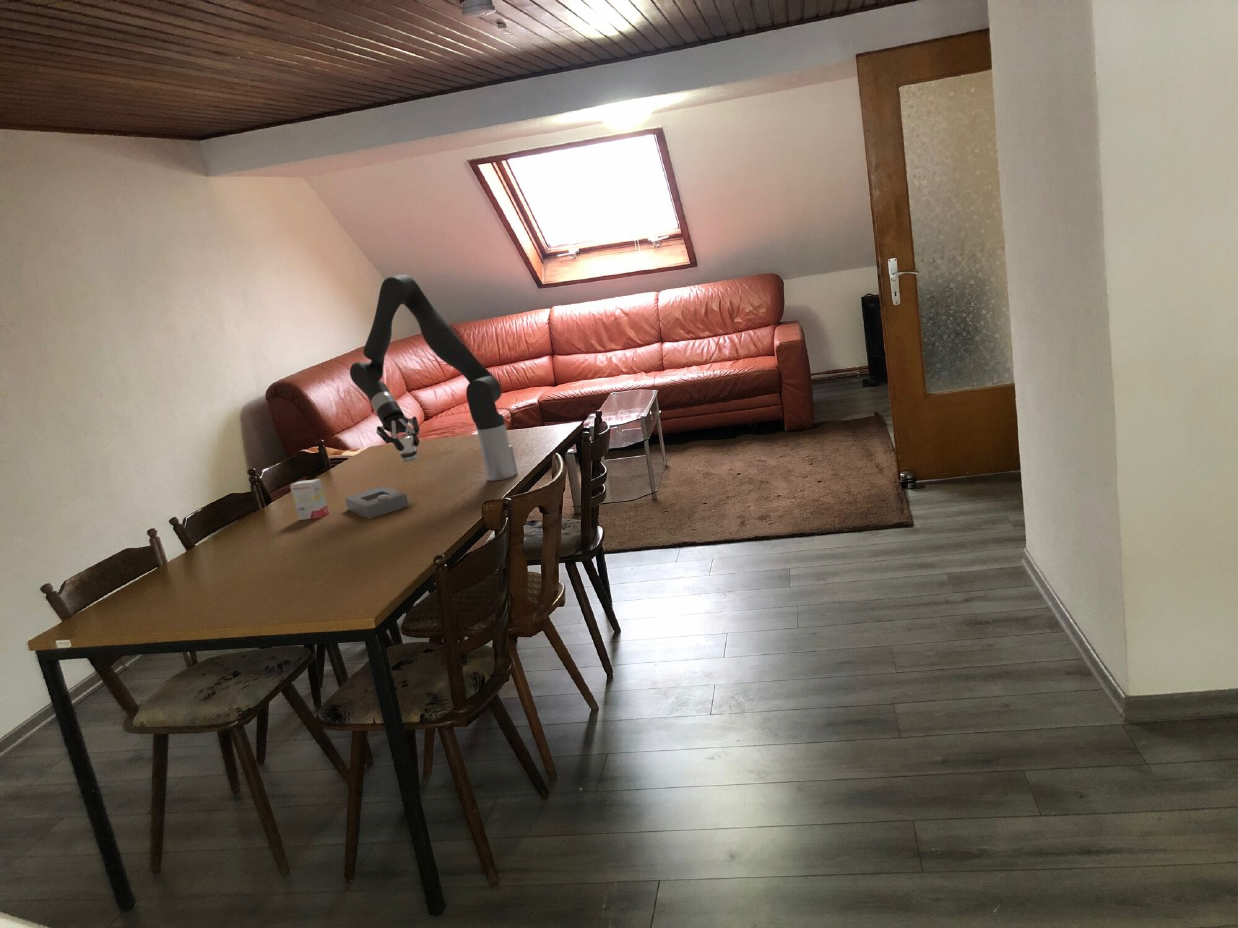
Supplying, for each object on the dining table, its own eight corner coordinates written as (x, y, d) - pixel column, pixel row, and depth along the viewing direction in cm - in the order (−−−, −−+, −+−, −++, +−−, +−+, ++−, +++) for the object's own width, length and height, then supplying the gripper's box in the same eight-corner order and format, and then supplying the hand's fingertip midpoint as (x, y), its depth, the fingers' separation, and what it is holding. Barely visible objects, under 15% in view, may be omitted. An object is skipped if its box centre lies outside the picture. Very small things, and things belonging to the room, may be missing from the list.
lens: (414, 456, 309) (409, 434, 307) (420, 458, 304) (415, 435, 303) (399, 461, 306) (394, 438, 304) (405, 462, 302) (400, 440, 300)
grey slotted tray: (385, 497, 312) (382, 483, 311) (408, 506, 296) (405, 490, 295) (347, 509, 306) (344, 495, 304) (369, 519, 289) (365, 503, 288)
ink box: (330, 513, 306) (320, 478, 303) (321, 518, 301) (312, 482, 298) (307, 515, 308) (298, 480, 306) (298, 520, 304) (289, 485, 301)
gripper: (366, 406, 303) (389, 446, 296) (408, 395, 311) (431, 433, 303) (365, 421, 309) (387, 460, 302) (406, 410, 316) (428, 448, 309)
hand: (409, 447), depth 303 cm, fingers closed on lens, 5 cm apart
